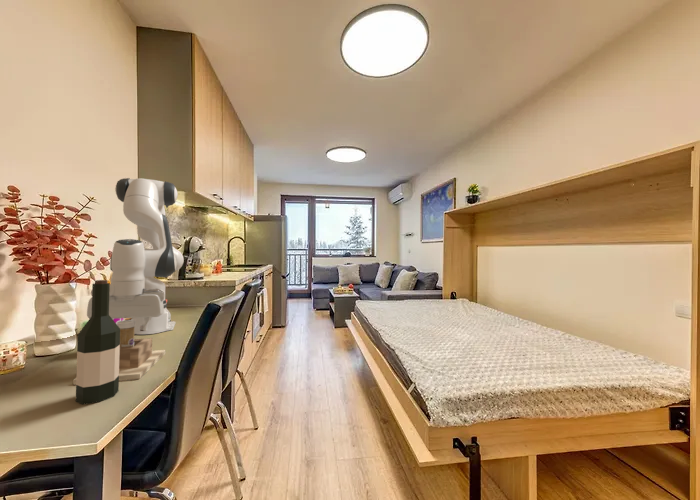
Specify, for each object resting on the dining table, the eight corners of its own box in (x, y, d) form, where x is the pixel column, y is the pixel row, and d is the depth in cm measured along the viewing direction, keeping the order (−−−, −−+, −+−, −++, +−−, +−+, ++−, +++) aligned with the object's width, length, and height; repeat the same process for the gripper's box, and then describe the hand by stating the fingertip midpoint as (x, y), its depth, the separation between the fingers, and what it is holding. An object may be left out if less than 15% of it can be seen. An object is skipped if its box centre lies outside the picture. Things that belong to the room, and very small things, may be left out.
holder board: (113, 357, 101) (114, 336, 101) (165, 353, 106) (165, 333, 106) (73, 384, 80) (74, 357, 80) (139, 379, 85) (140, 353, 85)
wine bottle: (120, 396, 74) (123, 280, 75) (75, 408, 68) (79, 282, 69) (116, 385, 80) (119, 278, 81) (75, 395, 74) (79, 280, 75)
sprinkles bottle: (128, 365, 91) (129, 322, 91) (112, 365, 90) (114, 322, 91) (137, 359, 96) (138, 319, 96) (122, 360, 95) (123, 319, 95)
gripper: (167, 287, 99) (166, 327, 99) (96, 288, 94) (95, 330, 94) (160, 289, 93) (159, 332, 93) (84, 290, 88) (83, 336, 87)
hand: (126, 331), depth 93 cm, fingers open, 8 cm apart
